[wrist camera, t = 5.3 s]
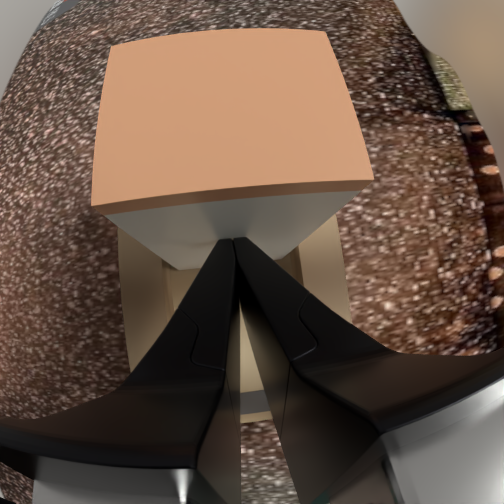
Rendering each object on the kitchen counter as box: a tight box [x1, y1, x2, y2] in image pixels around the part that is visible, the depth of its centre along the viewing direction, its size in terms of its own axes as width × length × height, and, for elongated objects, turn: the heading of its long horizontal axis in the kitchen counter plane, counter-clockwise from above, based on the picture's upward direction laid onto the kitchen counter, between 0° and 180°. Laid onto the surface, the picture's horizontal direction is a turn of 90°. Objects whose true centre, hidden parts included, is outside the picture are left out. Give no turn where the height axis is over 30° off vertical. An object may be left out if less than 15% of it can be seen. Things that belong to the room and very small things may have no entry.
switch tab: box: [91, 28, 374, 270], centre depth 10 cm, size 4×5×10 cm
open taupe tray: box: [117, 213, 352, 423], centre depth 14 cm, size 13×10×4 cm
